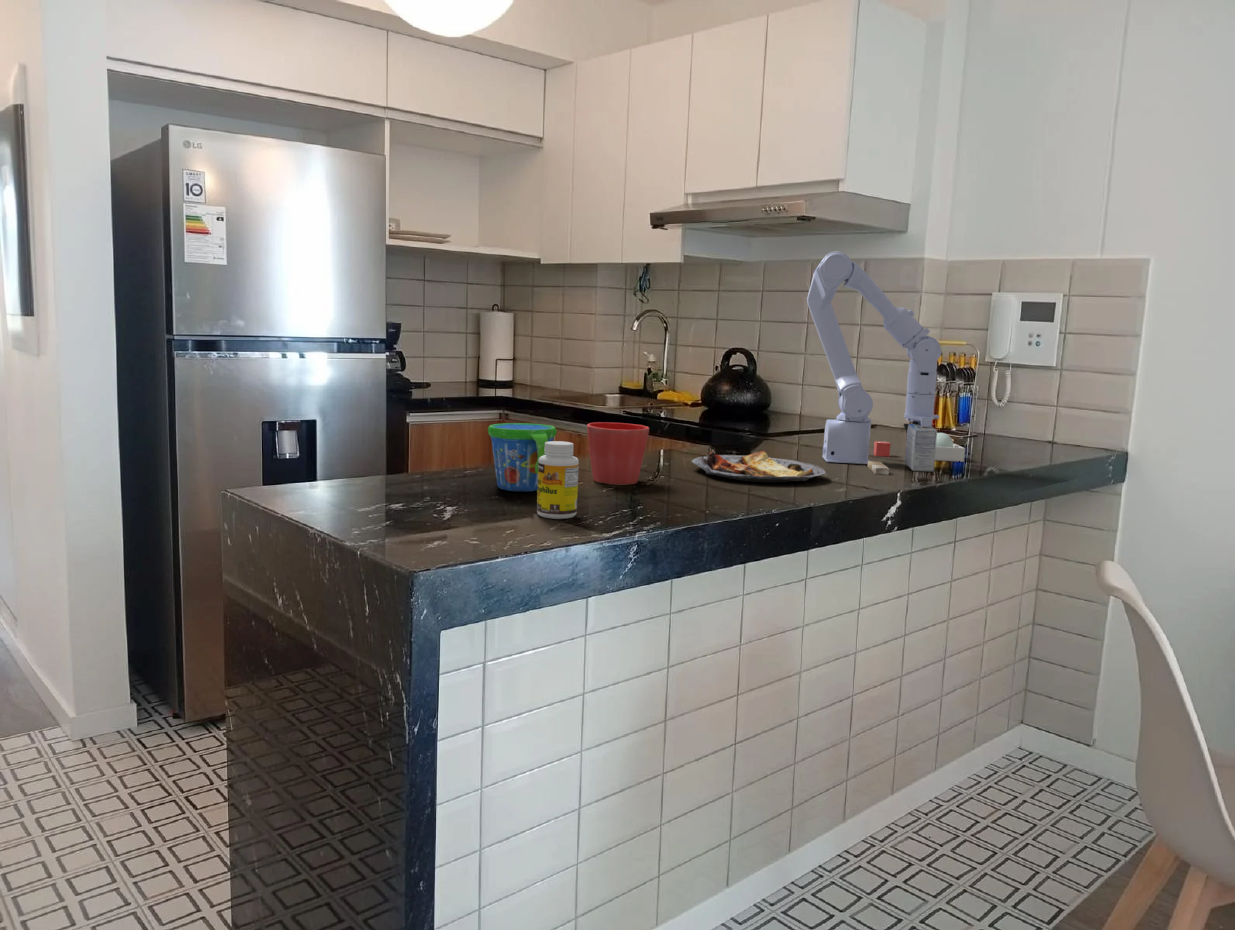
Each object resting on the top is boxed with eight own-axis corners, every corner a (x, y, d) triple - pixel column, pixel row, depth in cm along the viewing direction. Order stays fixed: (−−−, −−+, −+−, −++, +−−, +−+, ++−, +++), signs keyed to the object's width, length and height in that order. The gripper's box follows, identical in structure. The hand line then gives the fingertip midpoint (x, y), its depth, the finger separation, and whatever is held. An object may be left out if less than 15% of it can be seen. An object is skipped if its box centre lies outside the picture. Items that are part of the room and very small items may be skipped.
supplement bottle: (528, 514, 128) (530, 441, 127) (558, 510, 132) (560, 439, 131) (554, 521, 124) (557, 446, 123) (585, 517, 128) (587, 443, 127)
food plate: (674, 464, 182) (675, 446, 181) (779, 464, 189) (781, 447, 189) (727, 490, 159) (729, 470, 158) (845, 490, 166) (847, 470, 165)
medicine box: (933, 472, 187) (938, 430, 185) (911, 471, 187) (915, 429, 185) (925, 464, 194) (929, 424, 193) (903, 463, 195) (907, 422, 193)
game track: (875, 473, 181) (876, 467, 181) (867, 466, 191) (867, 461, 190) (888, 474, 181) (889, 468, 181) (879, 467, 190) (880, 461, 190)
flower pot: (659, 482, 160) (662, 427, 158) (616, 489, 152) (619, 430, 150) (615, 474, 167) (617, 420, 165) (571, 479, 159) (573, 423, 157)
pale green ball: (929, 458, 208) (931, 433, 207) (923, 454, 213) (925, 430, 212) (954, 459, 207) (957, 434, 206) (948, 456, 213) (950, 432, 212)
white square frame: (923, 459, 206) (924, 446, 206) (914, 454, 215) (916, 441, 214) (963, 461, 205) (965, 448, 205) (953, 456, 214) (955, 443, 214)
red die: (875, 455, 209) (876, 442, 209) (873, 454, 212) (874, 440, 212) (889, 456, 209) (890, 443, 208) (886, 454, 212) (888, 441, 211)
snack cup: (474, 482, 152) (475, 420, 151) (534, 479, 157) (535, 420, 156) (505, 499, 139) (507, 432, 137) (570, 496, 143) (572, 431, 142)
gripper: (949, 396, 186) (943, 463, 188) (931, 391, 200) (927, 454, 202) (913, 395, 186) (908, 462, 188) (898, 390, 201) (894, 452, 203)
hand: (915, 457), depth 195 cm, fingers closed, pressing on medicine box
